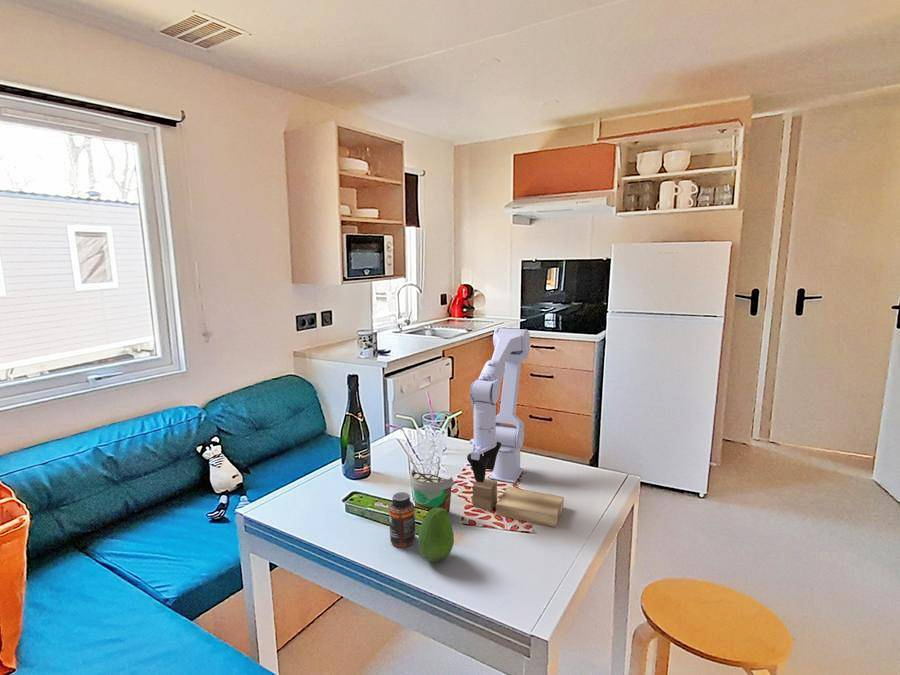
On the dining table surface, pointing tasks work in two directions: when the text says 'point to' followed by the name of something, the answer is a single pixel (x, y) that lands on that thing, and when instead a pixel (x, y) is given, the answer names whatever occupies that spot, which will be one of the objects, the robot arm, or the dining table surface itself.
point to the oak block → (530, 506)
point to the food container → (431, 491)
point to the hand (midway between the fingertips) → (484, 475)
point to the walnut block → (485, 494)
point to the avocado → (436, 535)
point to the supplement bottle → (402, 520)
